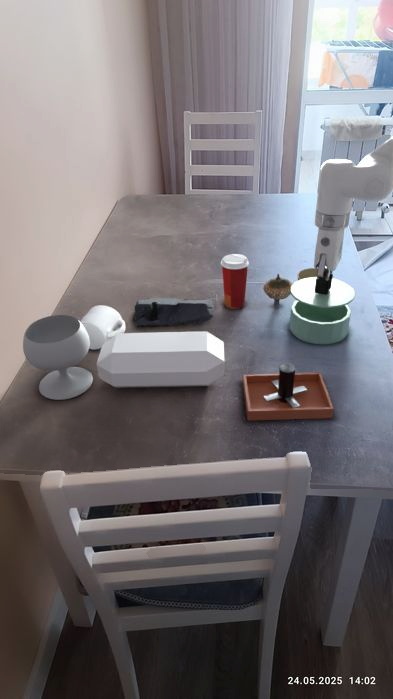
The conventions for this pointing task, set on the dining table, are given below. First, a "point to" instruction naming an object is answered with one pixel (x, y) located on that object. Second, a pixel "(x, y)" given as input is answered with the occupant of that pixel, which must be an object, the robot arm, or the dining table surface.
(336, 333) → the bowl
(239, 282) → the paper cup
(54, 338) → the chalice
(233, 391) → the dining table surface
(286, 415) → the tray
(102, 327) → the mug
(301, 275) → the flower pot
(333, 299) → the lid
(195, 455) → the dining table surface
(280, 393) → the blade
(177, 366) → the crystal
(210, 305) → the dark slate chunk
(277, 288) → the acorn
